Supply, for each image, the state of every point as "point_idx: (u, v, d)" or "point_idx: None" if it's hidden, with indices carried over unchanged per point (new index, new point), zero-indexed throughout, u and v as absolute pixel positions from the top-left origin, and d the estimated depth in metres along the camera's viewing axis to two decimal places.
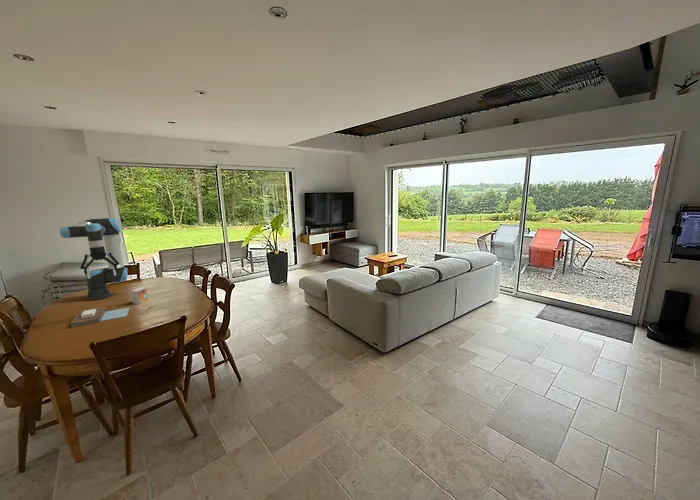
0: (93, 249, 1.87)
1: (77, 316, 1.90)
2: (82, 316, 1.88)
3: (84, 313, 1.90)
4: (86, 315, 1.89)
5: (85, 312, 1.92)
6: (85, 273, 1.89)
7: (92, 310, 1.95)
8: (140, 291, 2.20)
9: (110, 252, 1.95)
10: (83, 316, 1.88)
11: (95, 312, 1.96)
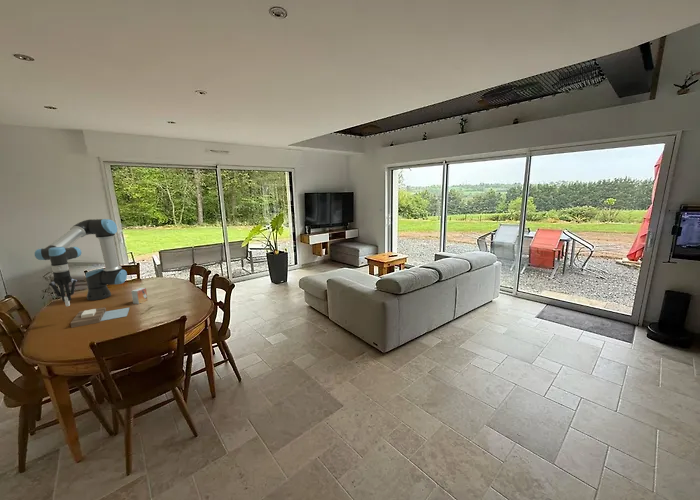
0: (56, 274, 1.78)
1: (77, 316, 1.90)
2: (82, 316, 1.88)
3: (84, 313, 1.90)
4: (86, 315, 1.89)
5: (85, 312, 1.92)
6: (63, 301, 1.84)
7: (92, 310, 1.95)
8: (140, 291, 2.20)
9: (76, 280, 1.86)
10: (83, 316, 1.88)
11: (95, 312, 1.96)
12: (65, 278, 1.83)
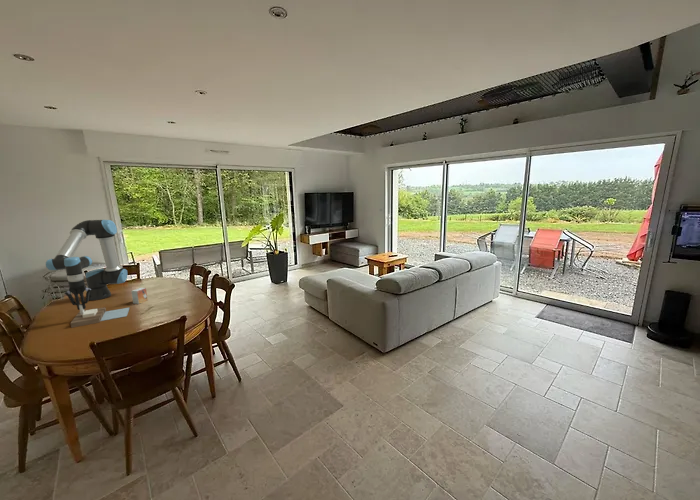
0: (72, 284, 1.83)
1: (77, 316, 1.90)
2: (83, 316, 1.88)
3: (86, 313, 1.90)
4: (87, 315, 1.89)
5: (87, 312, 1.92)
6: (78, 309, 1.89)
7: (94, 310, 1.95)
8: (140, 291, 2.20)
9: (90, 289, 1.91)
10: (84, 316, 1.88)
11: None
12: (80, 287, 1.87)
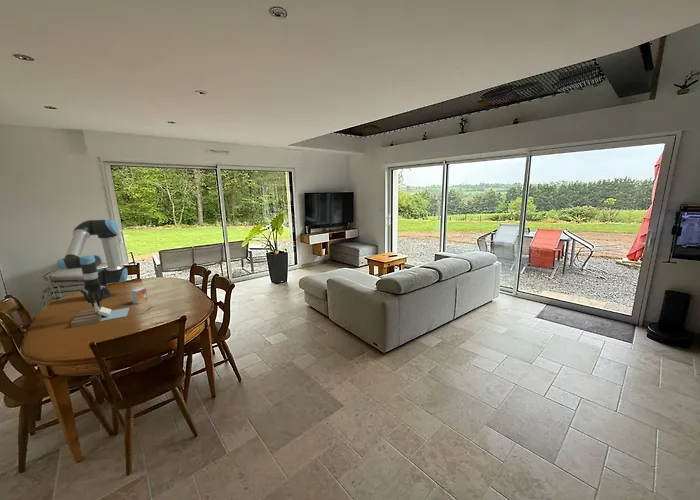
0: (87, 282, 1.87)
1: (77, 316, 1.90)
2: (99, 312, 1.92)
3: (102, 310, 1.95)
4: (103, 313, 1.93)
5: (102, 309, 1.96)
6: None
7: (109, 310, 2.00)
8: (140, 291, 2.20)
9: (105, 287, 1.95)
10: (100, 313, 1.92)
11: None
12: (95, 285, 1.91)
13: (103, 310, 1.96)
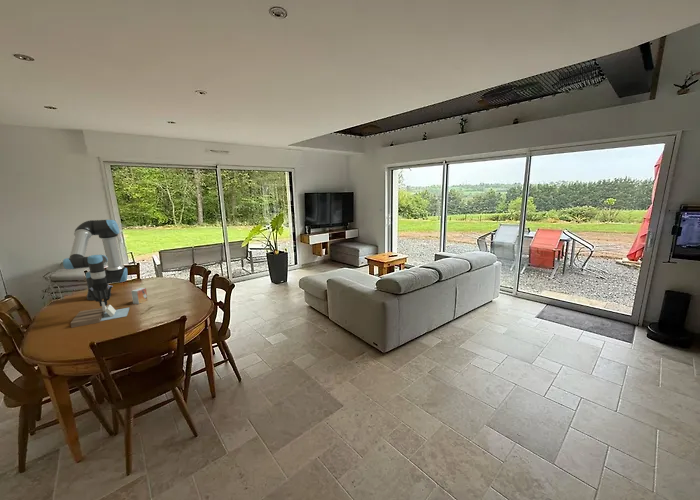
0: (95, 281, 1.89)
1: (77, 316, 1.90)
2: (106, 310, 1.94)
3: (109, 308, 1.97)
4: (109, 312, 1.95)
5: (110, 308, 1.98)
6: (100, 305, 1.95)
7: (114, 310, 2.01)
8: (140, 291, 2.20)
9: (112, 286, 1.97)
10: (107, 310, 1.94)
11: None
12: (102, 284, 1.93)
13: (110, 309, 1.97)
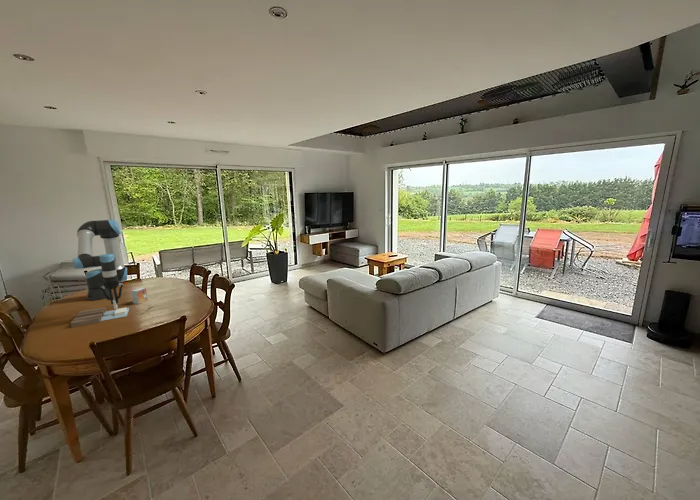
0: (107, 279, 1.92)
1: (77, 316, 1.90)
2: (124, 313, 1.99)
3: None
4: (120, 313, 1.98)
5: None
6: None
7: None
8: (140, 291, 2.20)
9: (123, 284, 2.00)
10: (123, 313, 1.99)
11: None
12: (114, 283, 1.96)
13: None
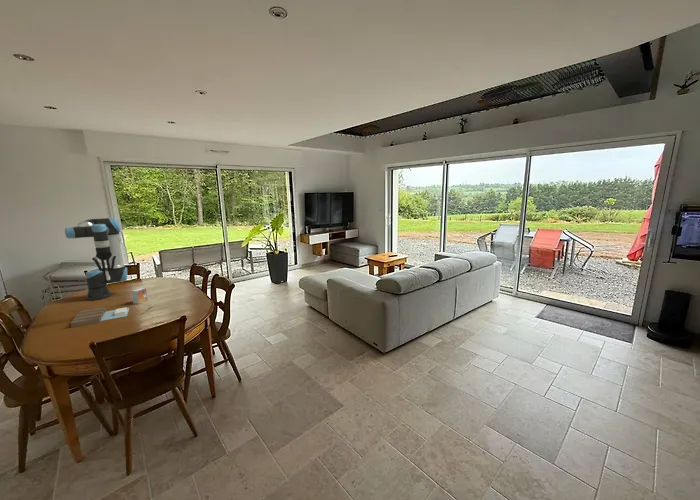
0: (99, 249, 1.89)
1: (77, 316, 1.90)
2: (124, 313, 1.99)
3: None
4: (120, 313, 1.98)
5: None
6: (104, 275, 1.95)
7: None
8: (140, 291, 2.20)
9: (116, 256, 1.98)
10: (123, 313, 1.99)
11: None
12: (106, 253, 1.94)
13: None
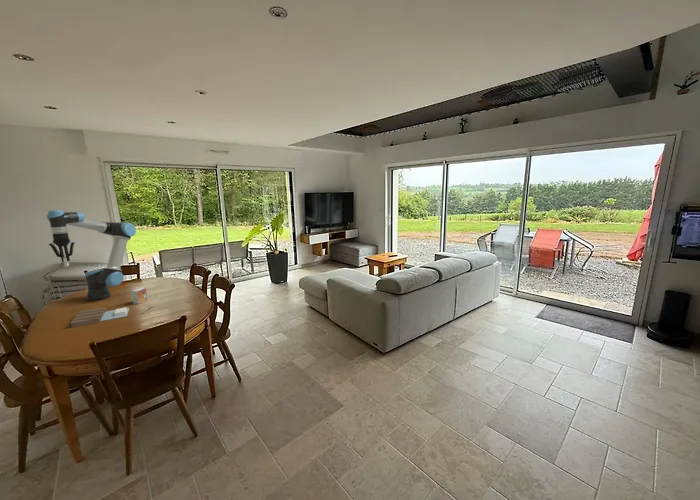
0: (56, 235, 1.90)
1: (77, 316, 1.90)
2: (124, 313, 1.99)
3: None
4: (120, 313, 1.98)
5: None
6: (62, 261, 1.96)
7: None
8: (140, 291, 2.20)
9: (74, 242, 1.98)
10: (123, 313, 1.99)
11: None
12: (64, 240, 1.95)
13: None
